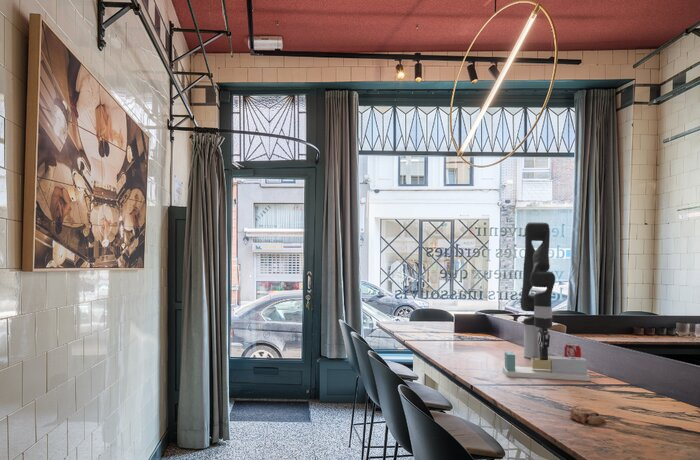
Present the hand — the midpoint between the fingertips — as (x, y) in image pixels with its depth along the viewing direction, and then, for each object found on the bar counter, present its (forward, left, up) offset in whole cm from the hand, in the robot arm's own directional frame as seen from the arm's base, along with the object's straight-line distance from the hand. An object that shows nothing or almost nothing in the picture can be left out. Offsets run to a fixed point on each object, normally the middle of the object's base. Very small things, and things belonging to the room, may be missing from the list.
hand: (543, 355), depth 208 cm
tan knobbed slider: (0, +5, -6) cm, 8 cm away
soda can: (-14, +16, -9) cm, 23 cm away
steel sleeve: (0, +10, -7) cm, 12 cm away
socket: (0, -14, -7) cm, 16 cm away
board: (0, 0, -9) cm, 9 cm away
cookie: (+60, 0, -9) cm, 61 cm away
